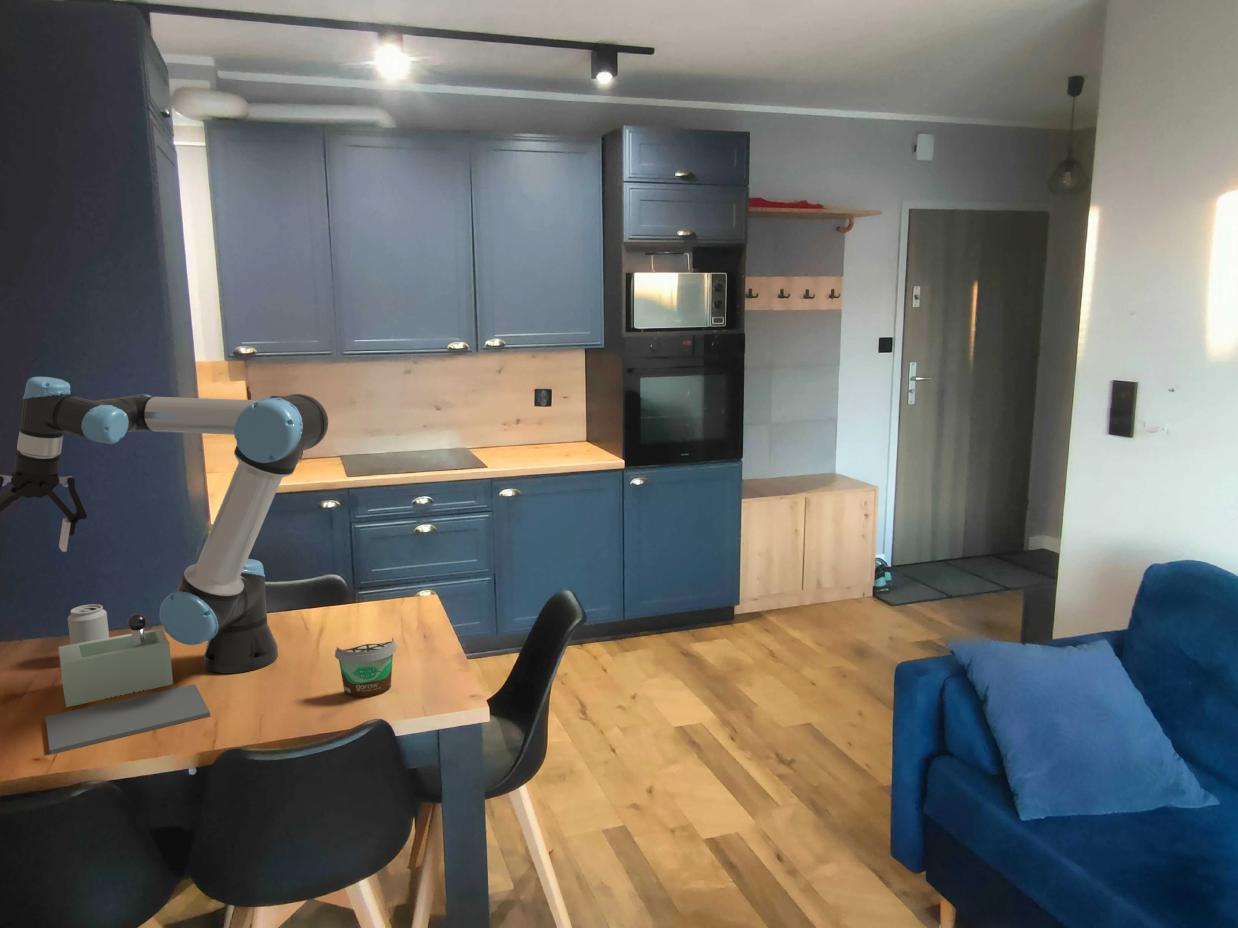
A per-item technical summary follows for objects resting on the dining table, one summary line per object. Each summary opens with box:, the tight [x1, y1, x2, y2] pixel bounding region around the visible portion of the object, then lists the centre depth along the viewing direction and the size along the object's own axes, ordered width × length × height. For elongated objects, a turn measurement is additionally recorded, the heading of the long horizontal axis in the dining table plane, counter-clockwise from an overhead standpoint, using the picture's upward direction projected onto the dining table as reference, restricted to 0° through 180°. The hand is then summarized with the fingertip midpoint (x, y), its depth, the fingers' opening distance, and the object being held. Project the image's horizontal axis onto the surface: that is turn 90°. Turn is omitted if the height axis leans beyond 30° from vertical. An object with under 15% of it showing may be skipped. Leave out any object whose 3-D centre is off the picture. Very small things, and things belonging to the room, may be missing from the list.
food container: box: [334, 636, 397, 699], centre depth 178 cm, size 12×6×10 cm, turn 117°
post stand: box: [126, 613, 148, 648], centre depth 183 cm, size 5×5×15 cm
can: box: [67, 603, 110, 645], centre depth 195 cm, size 8×8×12 cm
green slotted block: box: [57, 627, 174, 708], centre depth 181 cm, size 19×11×9 cm, turn 125°
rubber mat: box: [45, 683, 211, 755], centre depth 167 cm, size 26×16×1 cm, turn 125°
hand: (25, 550), depth 181 cm, fingers open, 13 cm apart
